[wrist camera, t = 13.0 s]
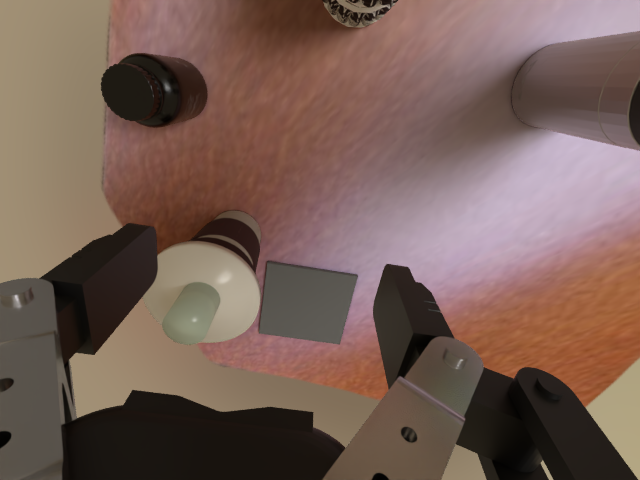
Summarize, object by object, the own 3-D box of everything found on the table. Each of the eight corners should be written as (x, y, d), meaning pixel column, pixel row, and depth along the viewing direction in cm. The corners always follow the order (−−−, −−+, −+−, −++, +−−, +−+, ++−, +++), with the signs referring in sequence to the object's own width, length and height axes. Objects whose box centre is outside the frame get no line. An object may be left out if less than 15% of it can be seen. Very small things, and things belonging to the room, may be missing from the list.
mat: (357, 274, 52) (357, 276, 51) (339, 341, 58) (339, 344, 57) (268, 260, 51) (267, 262, 50) (259, 330, 57) (258, 333, 56)
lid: (266, 251, 33) (256, 283, 28) (255, 341, 38) (245, 382, 33) (143, 231, 32) (109, 261, 27) (149, 327, 37) (122, 366, 32)
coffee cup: (272, 262, 51) (254, 328, 37) (207, 261, 51) (166, 327, 37) (268, 200, 46) (247, 250, 33) (198, 199, 46) (147, 249, 33)
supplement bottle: (189, 46, 38) (136, 34, 27) (219, 105, 41) (182, 115, 30) (140, 73, 39) (71, 71, 29) (172, 128, 42) (121, 145, 31)
